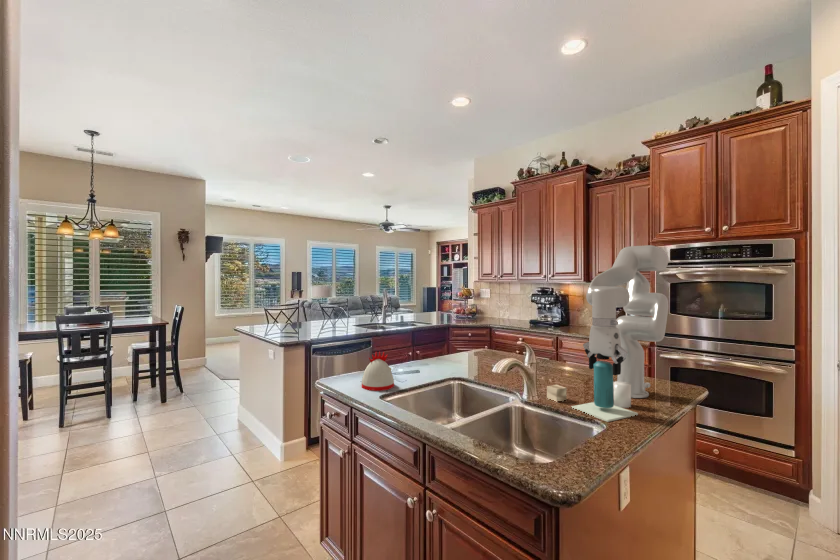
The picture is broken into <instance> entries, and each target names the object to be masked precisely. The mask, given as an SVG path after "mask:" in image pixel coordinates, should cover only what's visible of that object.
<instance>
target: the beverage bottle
mask: <svg viewBox="0 0 840 560" xmlns="http://www.w3.org/2000/svg"><path fill="white" fill-rule="evenodd" d="M595 357H596V358H597V359H598V361H597V362H596V363H594V365H593V366H594V369H593V402H594V404H595V405H596V406H598V407H603V408H612V407H613V406H614V393H613V392H614V391H613V389H614V388H613V386H614V384H613V382H614V375H613V363H611V362H609V361H606V360H610V357H607V356H604V355H602V354H600V353H598V354H596V356H595ZM599 360H600V361H599Z"/></svg>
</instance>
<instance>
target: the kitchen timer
mask: <svg viewBox="0 0 840 560" xmlns="http://www.w3.org/2000/svg"><path fill="white" fill-rule="evenodd" d="M371 356H372V359H371V358H370V357H368V359H369V364H368V365H367V366H366V368H365V370H364V372H363V376H362V379H361V388H362V389H364V390H366V391H372V392H374V391H375V392H376V391H377V392H380V391H381V392H382V391H388V390H390V389H393V388H394V386H395V380H394V376H393V372H392V368H391V367H390V366H389V365H388V363H387V362H386V360H387V358H388V356H389V354H386V355H385V351H383V352H382V355H381V351H379V352H377V351H375V355H374V353H373V354H371Z"/></svg>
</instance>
